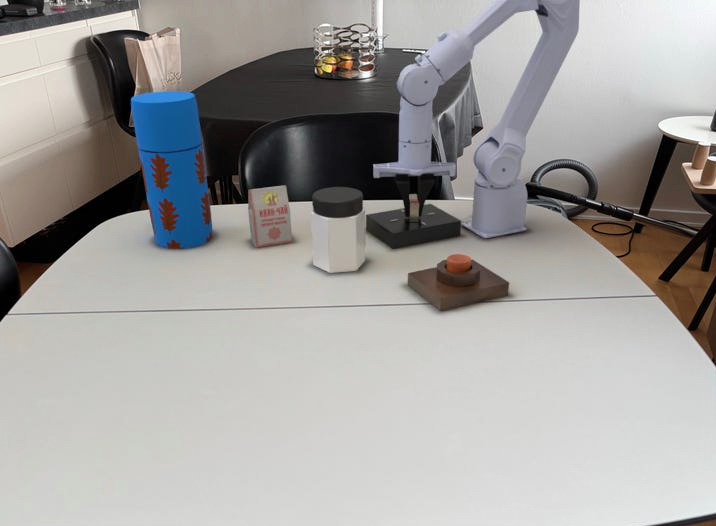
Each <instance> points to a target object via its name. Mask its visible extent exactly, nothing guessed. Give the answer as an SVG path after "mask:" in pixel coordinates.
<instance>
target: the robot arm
mask: <svg viewBox="0 0 716 526" xmlns="http://www.w3.org/2000/svg"><path fill="white" fill-rule="evenodd" d="M580 3H581V0H491V2H489V3H488V4H487V5H486V6H485V8H483V9H482V10H481V11H480V12H479V13H478V14H477V15H476V16H475V17H474V18H473V19H472V20H471V21H469V23H468V24H467V25H466V26H465V27H464V28H463V29H450V30H449V31H448V32H447V33H446V31H442V32H440V34H439V35H438V36H437V37H436V38H437V39H438V41H437V42H436V43H435V44H433V45H432V46H431V47H430V48H429V49H428V50H426V52H424V53H423V54H422V55H421V54H418V55H416V56H415V58H414V60H415V61H416V63H413V64H412V63H411V64H408V65H407V66H405V67H404V68H403V69H402V70H401V72H400V73H399V77H398V79H397V81H396V87H397V88H396V89H397V90H398V92H399V94H400V95H401V96H400V100H399V101H400V102H399V108H400V110H399V114H398V160H397V161H395V162H387V163H374V164H372V166H373V168H372V170H373V171H372V172H373V173H372V174H373V178H374V179H380V178H383V177H384V178H385V177H392V178H393V177H394V180H395V184H396V186H397V188H398V191H399V193H400V196H401V199H402V203H403V208H404V211H405V217H409V194H410V190H411V189H410V188H411V182H410V177H417V197H418V201H419V217H421V216H422V210H423V207H424V205H425V203H426V200H427V198H428V196H429V194H430V192H431V190H432V188H433V187H434V184H435V176H439V177H441V176H448V177H456V173H457V172H456V170H457V165H456V163H455V162H445V161H443V162H441V161H432V139H433V138H432V137H433V116H434V114H433V113H434V112H433V100H434V99H435V97H436V96H437V94H438V91H439V86H443V85H445V83H446V82H447V81H449V80H450V79H451V78H453V76H455V74H457V73H458V72H459V71H460V70H461V69H462V68H463V67H464V66H466V65H467V64H468V63H469V62H470V61H472V60H473V56H474V52H475V48H476V46H477V45H478V44H479V43H481V42H482V41H483V40H484V39H485V38H487V37H488V36H490V35H491V34H493V32H495V30H497V29H498V28H499V27H501V26H502V25H503V24H505V22H507V21H508V20H509V19H510V18H512V17H513V16H515V15H516V14H518V13H525V12H531V11H534V12H535V13H536V16H537V20H538V21H539V25H540V29H541V31H542V33H541V35H540V37H539V39H538V41H537V43H536V46H535V48H534V49H533V52H532V53H531V56H530V58H529V60H528V62H527V64H526V66H525V68H524V70H523V72H522V75H521V76H520V79H519V81H518V83H517V85H516V87H515V88H514V91H513V93H512V95H511V97H510V99H509V101H508V103H507V106H506V108H505V109H504V111H503V114H502V115H501V118H500V119H499V122H498V123H497V124H496V125H495V126H494V127H492V128H491V129H490V130H489V132H488V134H487V136H486V138H485V139H484V140H483V141H482V142H481V143H479V145H478V146H477V147H476V148H475V150H474V153H473V157H472V158H473V164H474V166H475V168H476V169H477V170H478V172H477V174H476V176H475V179H474V186H473V196H472V197H473V200H472V212H471V221H466V222H461V227H463V228H465V229H467V230H469V231H471V232H472V233H473V234H476V235H477V236H479V237H481V238H483V239H490V238H494V237H495V238H496V237H501V236H505V235H509V234H510V235H511V234H515V233H521V232H525V231H527V227H526V226H525V222H526V215H527V205H528V190H527V186H526V184H525V183H524V182H523V181H522V180H521V179H519V176H520V173H521V170H522V161H523V157H524V155H525V153H526V147H527V146H526V143H527V139H526V138H527V135H528V133H529V131H530V129H531V127H532V125H533V123H534V121H535V119H536V117H537V116H538V113H539V112H540V109H541V107H542V105H543V103H544V101H545V100H546V97H547V96H548V93H549V91H550V90H551V87H552V85H553V84H554V81H555V79H556V78H557V75H558V74H559V71H560V69H561V68H562V66H563V63H564V61H565V60H566V58H567V56H568V55H569V52H570V50H571V48H572V46H573V44H574V42H575V40H576V38H577V36H578V33H579V28H580V7H581V6H580Z"/></svg>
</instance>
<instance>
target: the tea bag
mask: <svg viewBox="0 0 716 526" xmlns="http://www.w3.org/2000/svg"><path fill="white" fill-rule="evenodd" d="M287 189H288V188H287V185H278V186H277V185H276V186H269V187H262V188H260V187H259V188H253V189H252V188H251V189H248V191H247V193H248V194H247V195H248V196H247V199H248V201H247V203H248V204H247V206H248V207H247V212H248V219H249V220H248V222H249V231H250V233H249V234H250V241H251V243H252V244H253V245H254V247H255V248H263V247H270V246H276V245H282V244H289V243H293V236H292V235H293V234H292V233H293V232H292V221H291V220H292V219H291V218H292V217H291V207H290V202H289V196H288V190H287Z"/></svg>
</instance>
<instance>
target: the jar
mask: <svg viewBox="0 0 716 526" xmlns="http://www.w3.org/2000/svg"><path fill="white" fill-rule="evenodd" d="M311 202H312V204H311V205H312V209H313V210H312V211H311V212H310V224H311V225H310V226H311V245H312V246H311V247H312V248H311V249H312V264H313V266H314V267H316V268H318V269H320V270H323V271H325V272H327V273H328V274H336V273H347V272H348V273H349V272H357V271H358V269H359V268H360V267H361V266H362V265H363V264H364V263H365V262H366V208H365V207H363V206H364V194H363V192H362V191H361V190H360V189H357V188H353V187H347V186H332V187H324V188H321V189H318V190H316V191H315V192H313V194H312V200H311Z"/></svg>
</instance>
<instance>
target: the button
mask: <svg viewBox="0 0 716 526" xmlns="http://www.w3.org/2000/svg"><path fill="white" fill-rule="evenodd" d="M446 260H447V270H449V271H452V272H468V271H470V267H471V260H472V258H471V257H470V256H469V255H466V254H462V253H461V254H460V253H457V254H456V253H455V254H451V255H448V256H447V258H446Z"/></svg>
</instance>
